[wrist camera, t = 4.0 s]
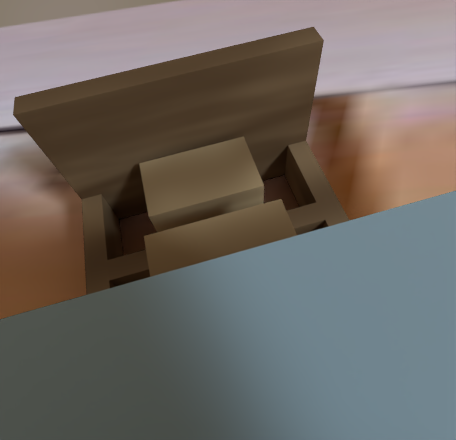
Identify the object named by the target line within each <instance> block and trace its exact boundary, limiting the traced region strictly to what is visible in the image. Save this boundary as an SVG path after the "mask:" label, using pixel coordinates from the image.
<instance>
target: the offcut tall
mask: <svg viewBox="0 0 456 440" xmlns="http://www.w3.org/2000/svg"><path fill="white" fill-rule="evenodd" d="M293 236H297V234H296V231H295V229H294V227H293V225H292V222H291V220H290V218H289V215H288V213H287V211H286V209H285V206H284V204H283V202H282V199H278V200H275V201H271V202H267V203H264V204H260V205H256V206H253V207H249V208H245V209H242V210H238V211H234V212H231V213H227V214H223V215H219V216H216V217H212V218H208V219H205V220H201V221H197V222H194V223H190V224H186V225H183V226H179V227H175V228H172V229H168V230H164V231H161V232H157V233H153V234H150V235H146V236H144V241H145V247H146V253H147V260H148V266H149V272H150V277H152V276H155V275H159V274H162V273H166V272H169V271H173V270H177V269H180V268H184V267H187V266H191V265H194V264H198V263H201V262H205V261H208V260H212V259H216V258H219V257H223V256H226V255H230V254H233V253H237V252H240V251H244V250H247V249H251V248H255V247H258V246H262V245H265V244H269V243H272V242H276V241H279V240H283V239H286V238H290V237H293Z"/></svg>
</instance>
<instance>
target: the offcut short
mask: <svg viewBox="0 0 456 440" xmlns="http://www.w3.org/2000/svg"><path fill="white" fill-rule="evenodd" d="M139 165H140V171H141V176H142V182H143V188H144V193H145V199H146V204H147V210H148V216H149V218H150V220H151V222H152V224H153V226H154V227H155V229H156V231H157V232H161V231H164V230H168V229H172V228H175V227H179V226H183V225H186V224H190V223H194V222H197V221H201V220H205V219H208V218H212V217H216V216H219V215H223V214H227V213H231V212H234V211H238V210H242V209H245V208H249V207H253V206H256V205H260V204H264V184H263V182H262V179H261V177H260V174H259V172H258V170H257V167H256V165H255V162H254V160H253V158H252V155H251V153H250V150H249V148H248V146H247V143H246V141H245V138H244V136H243V137H239V138H236V139H232V140H228V141H224V142H220V143H216V144H212V145H208V146H205V147H201V148H197V149H193V150H189V151H185V152H181V153H177V154H174V155H170V156H166V157H162V158H158V159H154V160H150V161H146V162H143V163H139Z"/></svg>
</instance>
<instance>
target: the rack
mask: <svg viewBox="0 0 456 440" xmlns="http://www.w3.org/2000/svg"><path fill="white" fill-rule="evenodd" d="M323 41H324V40H323V39H322V37H321V36H320V35H319V33H318V32H317V31H316V29H315V28H314V27H311V28H306V29H302V30H298V31H294V32H289V33H285V34H281V35H277V36H272V37H268V38H264V39H260V40H256V41H251V42H247V43H243V44H239V45H234V46H230V47H226V48H222V49H217V50H213V51H209V52H205V53H201V54H196V55H192V56H188V57H184V58H179V59H175V60H171V61H167V62H162V63H158V64H154V65H150V66H146V67H141V68H137V69H133V70H129V71H124V72H120V73H116V74H112V75H107V76H103V77H99V78H95V79H91V80H86V81H82V82H78V83H74V84H69V85H65V86H61V87H57V88H52V89H48V90H44V91H40V92H36V93H31V94H27V95H23V96H19V97H15V101H14V111H13V115H14V116H15V118H16V119H17V120H18V121H19V123H20V124H21V125H22V126H23V128H24V129H25V130H26V131H27V132H28V134H29V135H30V136H31V137H32V139H33V140H34V141H35V142H36V144H37V145H38V146H39V147H40V148H41V150H42V151H43V152H44V153H45V155H46V156H47V157H48V158H49V160H50V161H51V162H52V163H53V164H54V166H55V167H56V168H57V169H58V171H59V172H60V173H61V174H62V176H63V177H64V178H65V179H66V180H67V182H68V183H69V184H70V185H71V187H72V188H73V189H74V190H75V192H76V193H77V194H78V195H79V196H80V198H81V199H82V213H83V232H84V252H85V271H86V291H87V295H88V294H91V293H95V292H99V291H102V290H106V289H109V288H113V287H116V286H120V285H123V284H127V283H130V282H134V281H138V280H141V279H145V278H148V277H150V272H149V266H148V260H147V253H146V250H142V251H139V252H135V253H131V254H128V255H124V256H123V249H122V241H121V232H120V224H119V219H121V218H125V217H129V216H132V215H136V214H140V213H144V212H147V211H148V210H147V204H146V199H145V193H144V188H143V182H142V176H141V171H140V165H139V163H143V162H146V161H150V160H154V159H158V158H162V157H166V156H170V155H174V154H177V153H181V152H185V151H189V150H193V149H197V148H201V147H205V146H208V145H212V144H216V143H220V142H224V141H228V140H232V139H236V138H239V137H243V136H244V138H245V141H246V143H247V146H248V148H249V150H250V153H251V155H252V158H253V160H254V162H255V165H256V167H257V170H258V172H259V174H260V177H261V179H262V181H263V180H267V179H270V178H274V177H278V176H282V175H285V177H286V179H287V181H288V183H289V185H290V187H291V190H292V192H293V194H294V196H295V198H296V200H297V202H298V205H299V207H298V208H294V209H291V210H287V213H288V215H289V218H290V220H291V222H292V225H293V227H294V229H295V231H296V234H297V235H301V234H304V233H308V232H311V231H315V230H318V229H322V228H325V227H329V226H332V225H336V224H340V223H343V222H347V221H349V219H348V217H347V215H346V213H345V212H344V210H343V208H342V206H341V204H340V202H339V201H338V199H337V197H336V195H335V193H334V191H333V190H332V188H331V186H330V184H329V182H328V180H327V179H326V177H325V175H324V173H323V171H322V169H321V168H320V166H319V164H318V162H317V160H316V158H315V157H314V155H313V153H312V151H311V149H310V147H309V146H308V144H307V142H306V137H307V131H308V126H309V120H310V114H311V109H312V103H313V98H314V92H315V86H316V81H317V75H318V69H319V64H320V58H321V53H322V47H323Z"/></svg>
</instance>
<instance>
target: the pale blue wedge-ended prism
mask: <svg viewBox="0 0 456 440" xmlns="http://www.w3.org/2000/svg"><path fill="white" fill-rule="evenodd" d="M0 440H456V191H453V192H449V193H446V194H442V195H439V196H435V197H432V198H428V199H425V200H421V201H418V202H414V203H410V204H407V205H403V206H400V207H396V208H393V209H389V210H386V211H382V212H379V213H375V214H371V215H368V216H364V217H361V218H357V219H354V220H350V221H347V222H343V223H340V224H336V225H332V226H329V227H325V228H322V229H318V230H315V231H311V232H308V233H304V234H301V235H297V236H293V237H290V238H286V239H283V240H279V241H276V242H272V243H269V244H265V245H262V246H258V247H255V248H251V249H247V250H244V251H240V252H237V253H233V254H230V255H226V256H223V257H219V258H216V259H212V260H208V261H205V262H201V263H198V264H194V265H191V266H187V267H184V268H180V269H177V270H173V271H169V272H166V273H162V274H159V275H155V276H152V277H148V278H145V279H141V280H138V281H134V282H130V283H127V284H123V285H120V286H116V287H113V288H109V289H106V290H102V291H99V292H95V293H91V294H88V295H84V296H81V297H77V298H74V299H70V300H67V301H63V302H60V303H56V304H52V305H49V306H45V307H42V308H38V309H35V310H31V311H28V312H24V313H21V314H17V315H13V316H10V317H6V318H3V319H0Z"/></svg>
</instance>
